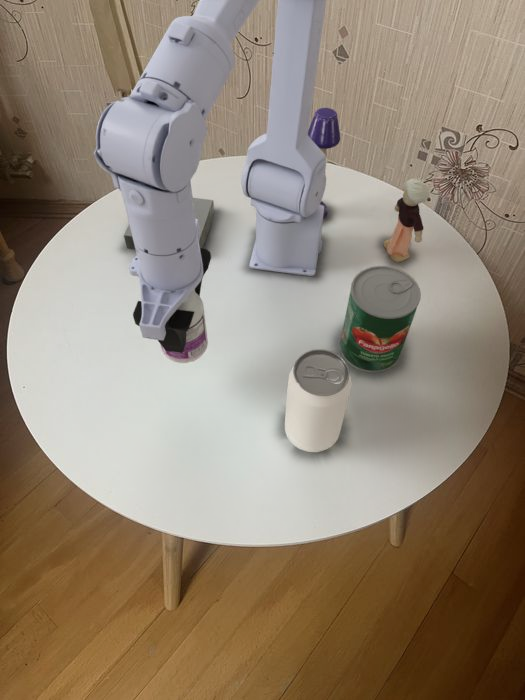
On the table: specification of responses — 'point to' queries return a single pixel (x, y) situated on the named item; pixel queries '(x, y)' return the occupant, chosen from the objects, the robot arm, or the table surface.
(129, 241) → the knob base
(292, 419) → the can
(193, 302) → the pill bottle
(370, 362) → the canned tomato
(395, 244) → the grandmother figurine
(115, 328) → the table surface
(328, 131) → the toy lamp
